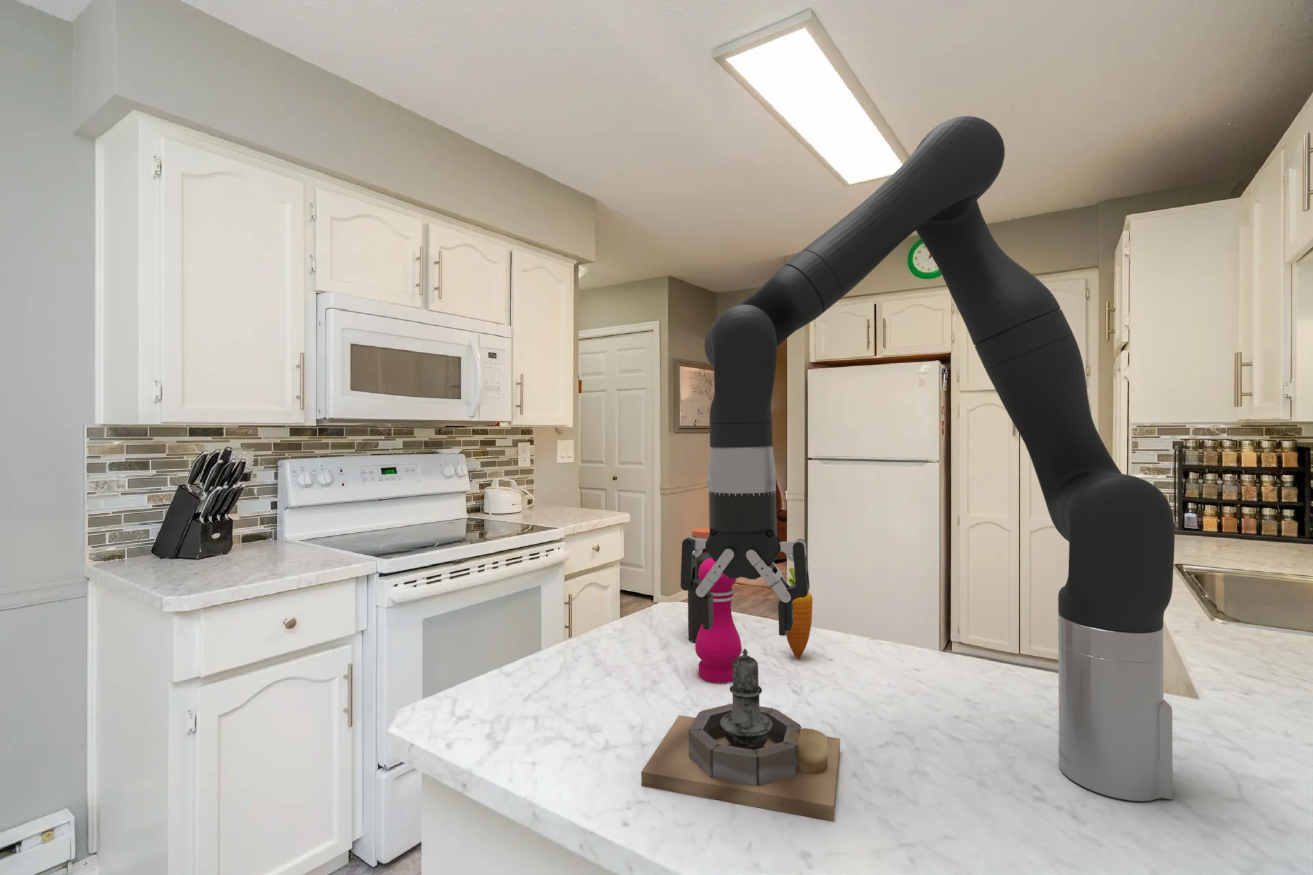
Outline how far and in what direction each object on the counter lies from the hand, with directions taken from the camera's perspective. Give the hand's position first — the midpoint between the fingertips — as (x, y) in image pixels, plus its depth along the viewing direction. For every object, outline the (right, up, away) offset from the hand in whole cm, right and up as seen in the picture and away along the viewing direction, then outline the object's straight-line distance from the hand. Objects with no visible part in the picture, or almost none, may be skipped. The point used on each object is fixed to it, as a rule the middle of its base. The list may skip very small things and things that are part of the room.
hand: (744, 630), depth 70 cm
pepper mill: (0, -16, +27) cm, 31 cm away
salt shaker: (0, -14, 0) cm, 14 cm away
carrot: (+14, -15, +34) cm, 40 cm away
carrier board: (0, -16, 0) cm, 16 cm away
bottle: (-1, -15, +44) cm, 47 cm away
